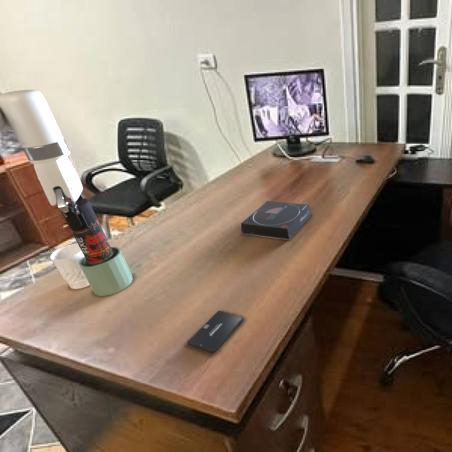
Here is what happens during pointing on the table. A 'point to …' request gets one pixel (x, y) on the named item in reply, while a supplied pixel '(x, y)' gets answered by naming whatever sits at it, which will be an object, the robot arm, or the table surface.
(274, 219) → the portable cd player
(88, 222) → the deodorant
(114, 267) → the pen holder
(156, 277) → the table surface
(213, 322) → the solid state drive
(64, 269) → the white cup
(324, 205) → the table surface
